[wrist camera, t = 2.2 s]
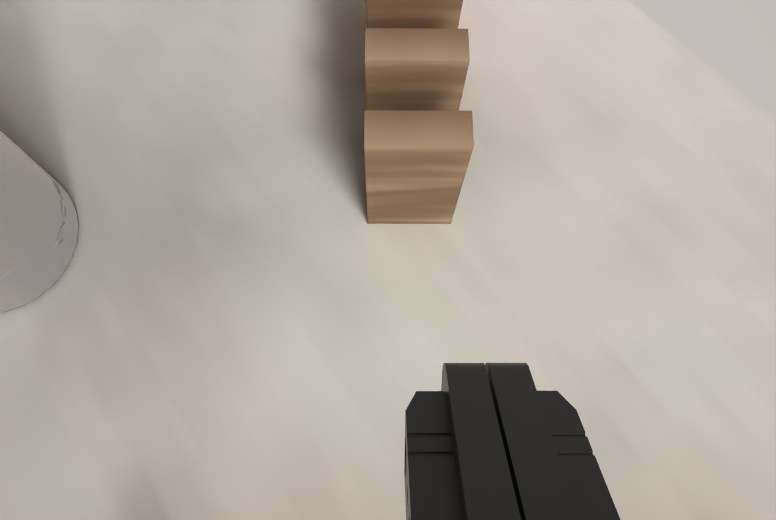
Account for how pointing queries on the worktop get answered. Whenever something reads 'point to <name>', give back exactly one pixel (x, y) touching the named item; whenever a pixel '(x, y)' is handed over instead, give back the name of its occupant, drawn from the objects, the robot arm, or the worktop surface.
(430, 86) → the domino
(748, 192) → the worktop surface
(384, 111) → the domino
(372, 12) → the domino
